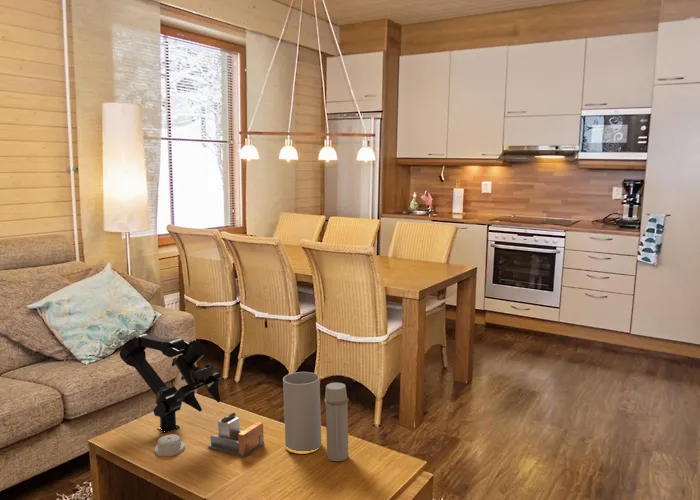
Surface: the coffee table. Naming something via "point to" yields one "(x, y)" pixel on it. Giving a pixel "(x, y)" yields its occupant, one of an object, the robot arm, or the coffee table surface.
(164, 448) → the mechanical component
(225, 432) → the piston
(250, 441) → the grey and orange holder
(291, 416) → the cylinder vase
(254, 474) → the coffee table surface
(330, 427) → the water bottle
